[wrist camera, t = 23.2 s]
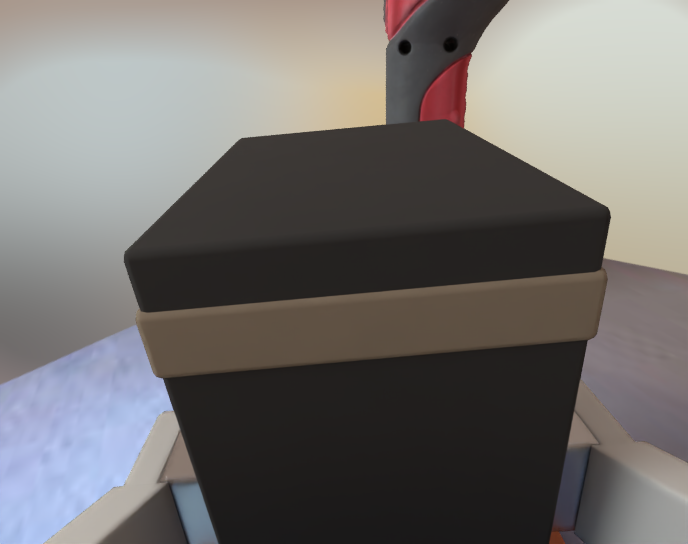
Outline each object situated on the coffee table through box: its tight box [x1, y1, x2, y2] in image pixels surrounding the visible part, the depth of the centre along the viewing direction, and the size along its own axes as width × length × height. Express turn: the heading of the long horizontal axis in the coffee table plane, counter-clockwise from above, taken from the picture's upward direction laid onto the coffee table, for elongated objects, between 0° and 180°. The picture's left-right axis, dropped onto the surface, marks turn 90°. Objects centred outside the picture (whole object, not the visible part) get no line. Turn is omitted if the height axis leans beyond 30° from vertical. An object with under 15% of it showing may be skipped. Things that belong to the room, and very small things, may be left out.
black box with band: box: [124, 119, 611, 544], centre depth 9 cm, size 4×6×10 cm
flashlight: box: [384, 0, 509, 128], centre depth 26 cm, size 8×8×23 cm
